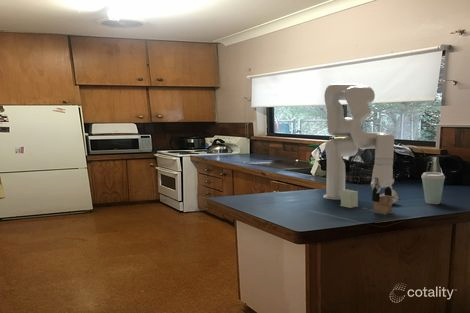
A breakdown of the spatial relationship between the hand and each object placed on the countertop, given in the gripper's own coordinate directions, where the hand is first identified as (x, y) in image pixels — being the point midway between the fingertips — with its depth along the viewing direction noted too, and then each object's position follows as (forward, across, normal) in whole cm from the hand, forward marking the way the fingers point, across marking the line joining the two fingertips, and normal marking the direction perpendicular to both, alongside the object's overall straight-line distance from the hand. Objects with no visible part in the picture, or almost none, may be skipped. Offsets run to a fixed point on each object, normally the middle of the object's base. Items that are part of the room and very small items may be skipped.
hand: (381, 199), depth 176 cm
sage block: (+6, 0, -17) cm, 18 cm away
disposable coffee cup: (+7, -39, +4) cm, 40 cm away
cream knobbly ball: (+7, -19, -7) cm, 21 cm away
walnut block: (+5, 0, +1) cm, 5 cm away
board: (+6, 0, -8) cm, 10 cm away
